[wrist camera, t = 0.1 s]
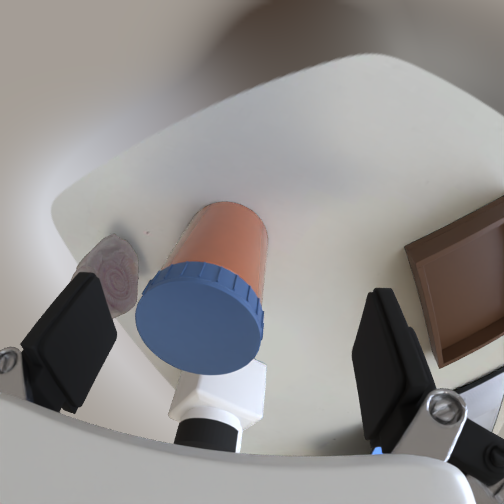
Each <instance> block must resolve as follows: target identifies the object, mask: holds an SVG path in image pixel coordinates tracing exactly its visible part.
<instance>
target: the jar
mask: <svg viewBox="0 0 504 504" xmlns="http://www.w3.org/2000/svg"><path fill="white" fill-rule="evenodd" d="M267 249H268V235H267V231H266V228H265V226H264V224H263V222H262V221H261V219H260V218H259V217H258V216H257V215H256V214H255V213H254V212H253V211H252V210H250V209H249V208H247V207H245V206H243V205H240V204H237V203H233V202H217V203H213V204H210V205H208V206H206V207H204V208H202V209H201V210H200V211H199V212H197V214H196V215H195V216H194V217H193V219H192V220H191V222H190V223H189V225H188V227H187V228H186V230H185V231H184V233H183V234H182V236H181V238H180V239H179V241H178V242H177V244H176V245H175V247H174V249H173V250H172V252H171V254H170V255H169V257H168V258H167V260H166V262H165V263H164V265H163V267H162V268H161V270H160V271H162V270H163V269H165V268H166V267H169V266H170V265H171V264H173V265H174V264H177V263H182V262H186V261H188V262H206V263H210V264H214V265H217V266H220V267H221V266H222V267H223V268H225V269H227V270H229V271H231V272H233V273H235V274H236V275H237V274H238V275H239V277H240V278H242V279H243V280H244V281H245V282H246V283H247V284H248V285H249V286H250V285H251V288H252V289H253V291H254V292H255V294H256V295H257V297H258V298H260V303H261V307H262V300H263V290H264V280H265V270H266V259H267Z"/></svg>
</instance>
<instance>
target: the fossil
mask: <svg viewBox="0 0 504 504" xmlns="http://www.w3.org/2000/svg"><path fill="white" fill-rule="evenodd" d="M79 272H91V273H95V275H96V276H97V277H98V278H99V279H100V282H101V285H102V288H103V292H104V295H105V298H106V301H107V304H108V308H109V311H110V314H111V317H112V319H113V318H116V317H118V316H120V315H123V314H125V313H126V312H128V311H129V310H130V309H132V308H133V307H134V305H135V304H136V302H137V288H138V279H139V277H138V273H139V266H138V258H137V255H136V253H135V251H134V250H133V248H132V247H131V245H130V244H129V243H128V242H127V241H126V240H123V239H120V238H119V237H118V236H117V235H116V234H111V235H109V236H107V237H105V238H103V239H102V240H101V241H100V242H99V243H98V244H97V245H96V246H95V247H94V248H93V249H92V250H91V251H90V252H89V253H88V254H87V255H86V256H85V257H84V258H83V259H82V260H81V262H80V263H79V264H78V266H77V270H76V272H75V273H74V274H73V277H72V279H73V278H74V277H75V276H76V275H77V274H78V273H79ZM72 279H71V281H72ZM71 281H70V282H71Z"/></svg>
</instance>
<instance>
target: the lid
mask: <svg viewBox="0 0 504 504" xmlns="http://www.w3.org/2000/svg"><path fill="white" fill-rule="evenodd" d="M142 295H143V296H142V297H141V299H140V301H139V302H138V304H137V308H136V313H135V320H136V326H137V330H138V332H139V335H140V336H141V338H142V340H143V341H144V343H145V344H146V346H147V347H148V348H149V349H150V350H151V351H152V352H153V353H154V354H155V355H156V356H158V357H159V358H160V359H162V360H163V361H165V362H166V363H168V364H170V365H172V366H174V367H176V368H178V369H181V370H183V371H186V372H190V373H194V374H200V375H223V374H228V373H232V372H235V371H237V370H239V369H241V368H243V367H245V366H246V365H248V364H249V363H250V362H251V361H252V360H253V359H254V357H255V356H256V354H257V352H258V351H259V347H260V343H261V340H262V338H263V327H264V323H263V318H264V311H262V307H261V303H260V298H258V297H257V295H256V294H255V292H254V291H253V289H252V288H251V285H250V286H249V285H248V284H247V283H246V282H245V281H244V280H243V279H242V278H240V277H239V275H238V274H237V275H236V274H235V273H233V272H231V271H229V270H227V269H225V268H223V267H222V266H221V267H220V266H217V265H214V264H210V263H206V262H188V261H186V262H182V263H177V264H174V265H173V264H171V265H170V266H169V267H166V268H165V269H163V270H162V271H160V270H159V271H158V273H157V274H156V276H155V277H154V278H153V279H152V280H150V281H149V283H148V284H147V286H146V288H145V289H144V291H143V293H142Z"/></svg>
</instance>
